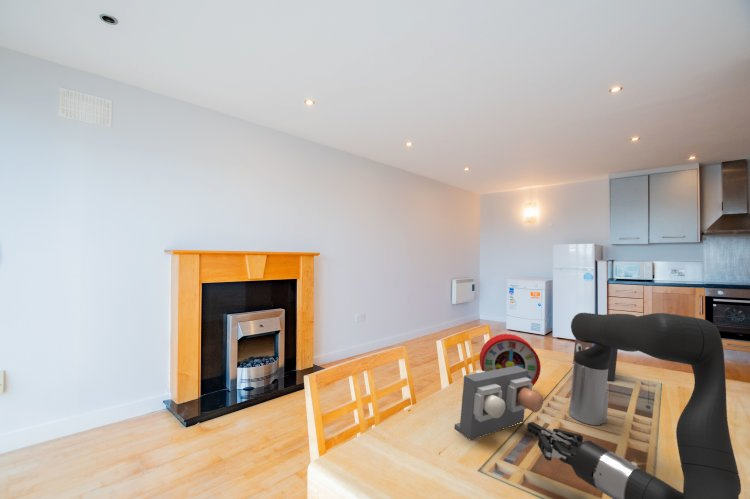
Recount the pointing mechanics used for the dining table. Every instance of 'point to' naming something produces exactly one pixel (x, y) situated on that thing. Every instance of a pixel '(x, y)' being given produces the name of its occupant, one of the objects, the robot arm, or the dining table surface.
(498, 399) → the cream button
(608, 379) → the cereal box
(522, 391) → the terracotta button
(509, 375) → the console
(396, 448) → the dining table surface
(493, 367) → the toy clock
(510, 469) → the dining table surface
